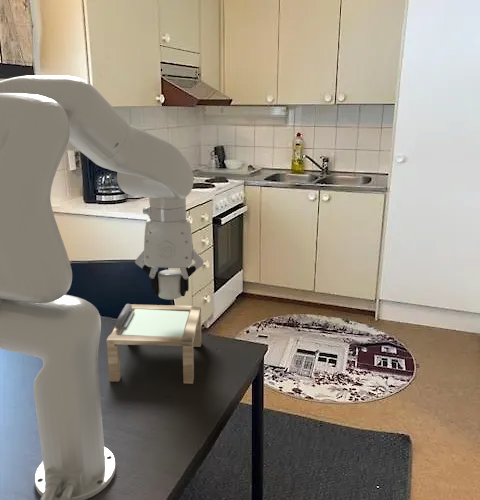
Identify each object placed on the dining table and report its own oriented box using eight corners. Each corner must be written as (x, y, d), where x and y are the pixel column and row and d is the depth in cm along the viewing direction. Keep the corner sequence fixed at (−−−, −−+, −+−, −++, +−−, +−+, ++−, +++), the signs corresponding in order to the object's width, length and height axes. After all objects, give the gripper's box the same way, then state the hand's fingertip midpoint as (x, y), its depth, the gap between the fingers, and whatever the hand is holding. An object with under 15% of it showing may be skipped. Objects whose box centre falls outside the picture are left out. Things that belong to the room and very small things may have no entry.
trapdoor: (181, 341, 107) (181, 328, 106) (112, 338, 107) (111, 324, 106) (189, 315, 119) (189, 303, 118) (127, 312, 120) (126, 300, 119)
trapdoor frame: (192, 383, 107) (192, 342, 104) (109, 381, 108) (106, 339, 105) (201, 342, 124) (200, 306, 121) (129, 340, 125) (127, 304, 122)
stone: (180, 299, 108) (180, 278, 106) (156, 299, 108) (155, 277, 106) (183, 290, 113) (183, 269, 111) (161, 290, 113) (160, 269, 111)
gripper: (123, 217, 101) (127, 299, 107) (206, 219, 101) (207, 301, 107) (131, 208, 109) (136, 286, 114) (210, 210, 108) (210, 288, 114)
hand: (170, 292), depth 110 cm, fingers closed on stone, 5 cm apart
